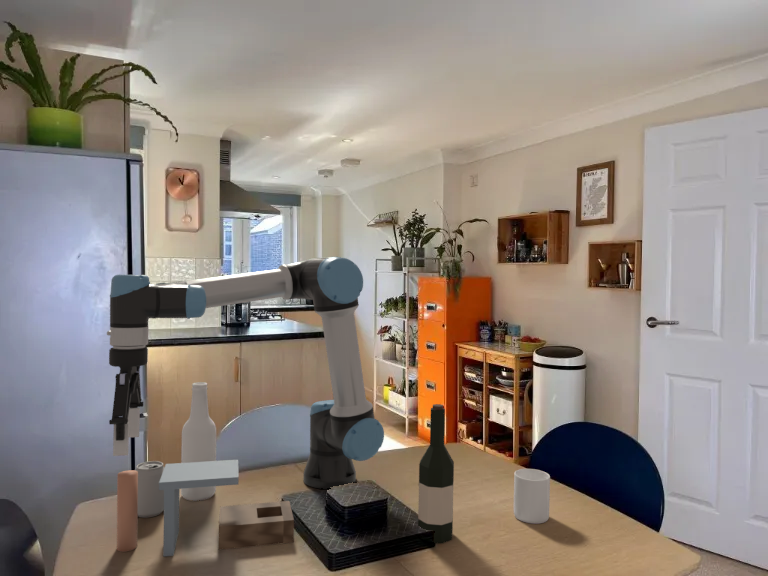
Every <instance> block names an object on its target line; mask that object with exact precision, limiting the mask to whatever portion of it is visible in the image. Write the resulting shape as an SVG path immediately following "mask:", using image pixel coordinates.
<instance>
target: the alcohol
mask: <svg viewBox="0 0 768 576" xmlns="http://www.w3.org/2000/svg"><path fill="white" fill-rule="evenodd" d="M208 389H209V388H208V382H205V381H204V382H203V381H198V382H193V383H191V391H192V392H191V404H190V413H189V417H188V419H187V420H186V421H185V423H184V424H183V426H182V430H181V455H180V456H181V462H180V463H190V462H206V461H217V426H216V423H215V422H214V420H213V419H212V418H211V417H210V414H209V400H208V397H209V396H208ZM216 488H217V486H211V487H197V488H183V489H180V495H181V497H182V498H183V500H185V499H186V501H189V500H193V501H192V502H198V501H199V500H200V501H204V499H205V500H208V499H211V498H212V497H213V496H214V494H215V493H216V491H217V490H216ZM197 500H198V501H197ZM200 501H199V502H200Z"/></svg>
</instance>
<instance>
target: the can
mask: <svg viewBox="0 0 768 576" xmlns="http://www.w3.org/2000/svg"><path fill="white" fill-rule="evenodd" d="M135 468H136V469H134V470H135V471H138V517H139V518H144V519H145V518H152V517H156V516H159V515H161V514H162V513H163V512H164V490H159V481H160V479H161V476H162V473H163V470H164V468H165V466H164V463H163V462H162V461H159V460H151V461H149V460H148V461H145V462H140V463H139V464H137V465H136V467H135Z"/></svg>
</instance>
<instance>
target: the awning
mask: <svg viewBox="0 0 768 576" xmlns="http://www.w3.org/2000/svg"><path fill="white" fill-rule="evenodd" d="M164 467H165V468H164V470H163V473H162V476H161V479H160V481H159V490H164V510H163V544H162V545H163V549H162V551H163V555H162V557H173V556H174V554H175V550H176V545H177V541H178V537H179V533H180V492H181V489H183V488H197V487H211V486H216V487H222V486H237V485H239V480H240V479H239V473H240V472H239V459H225V460H216V461H206V462H190V463H181V462H178V463H165V464H164Z"/></svg>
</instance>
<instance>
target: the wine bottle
mask: <svg viewBox="0 0 768 576" xmlns="http://www.w3.org/2000/svg"><path fill="white" fill-rule="evenodd" d="M445 416H446V408H444V405H443V404H441V403H440V404H438V403H436V404H432V407H430V423H429V424H430V425H429V426H430V428H429V429H430V430H429V431H430V433H429V446H428V447H427V448H426V450H425V452H424V454H423V456H422V457H421V459H420V461H419V464H418V465H419V466H418V510H417V511H418V513H417V514H418V515H417V516H418V518H417V527H418V526H420V527H421V528H423V529H426V530H433V531H435V533H434V543H433V544H444V543H447V542H450V541H452V540H453V529H454V528H453V527H454V525H453V519H454V518H453V517H454V485H455V484H454V480H455V479H454V477H455V476H454V471H455V461H454V460H453V458H452V456H451V455H450V453H449V451H448V449H447V447H446V445H445V428H446V427H445V425H446V422H445V421H446V417H445Z"/></svg>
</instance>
